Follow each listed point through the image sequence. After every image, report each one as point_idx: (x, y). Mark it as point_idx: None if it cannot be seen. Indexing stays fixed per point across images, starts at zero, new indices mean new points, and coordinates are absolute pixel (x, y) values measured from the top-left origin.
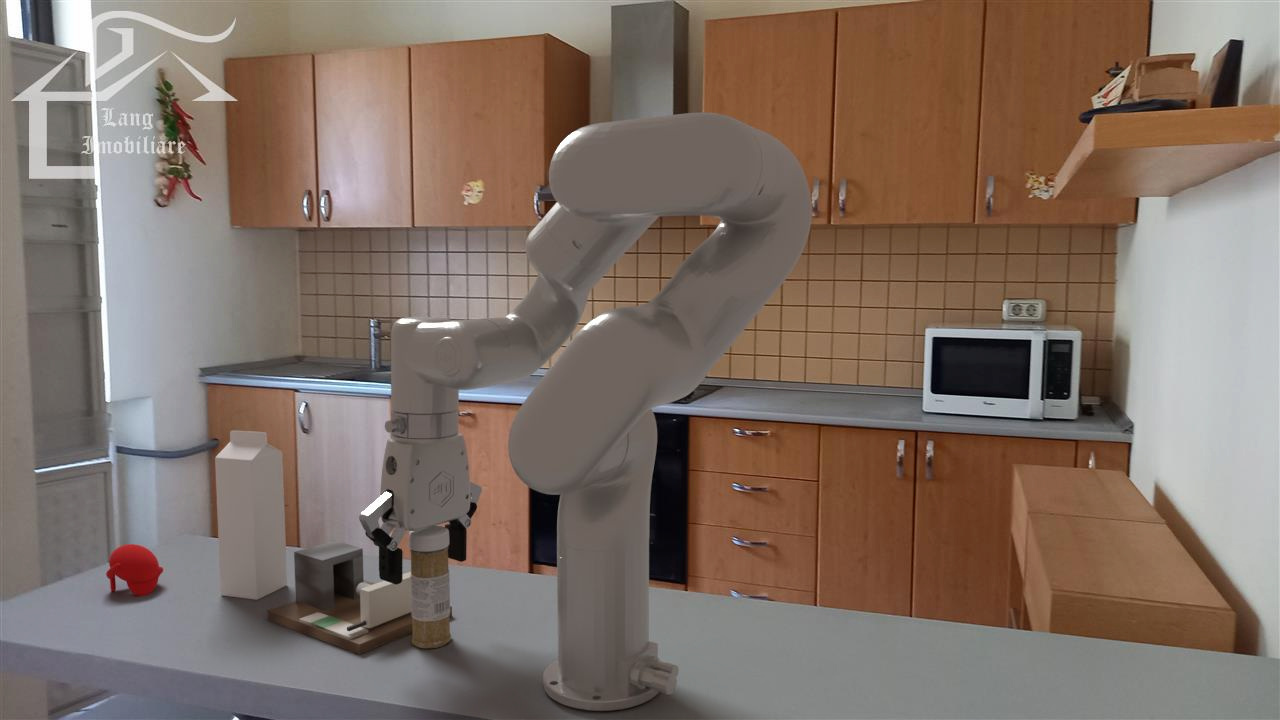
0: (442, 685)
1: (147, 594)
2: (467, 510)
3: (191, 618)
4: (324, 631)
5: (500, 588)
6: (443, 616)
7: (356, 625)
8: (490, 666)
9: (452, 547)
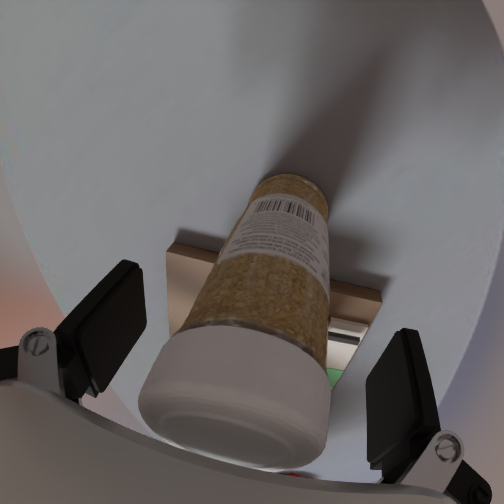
0: (446, 86)
1: (293, 474)
2: (2, 391)
3: (326, 449)
4: (347, 364)
5: (63, 234)
6: (291, 197)
7: (344, 338)
8: (338, 33)
9: (125, 323)
